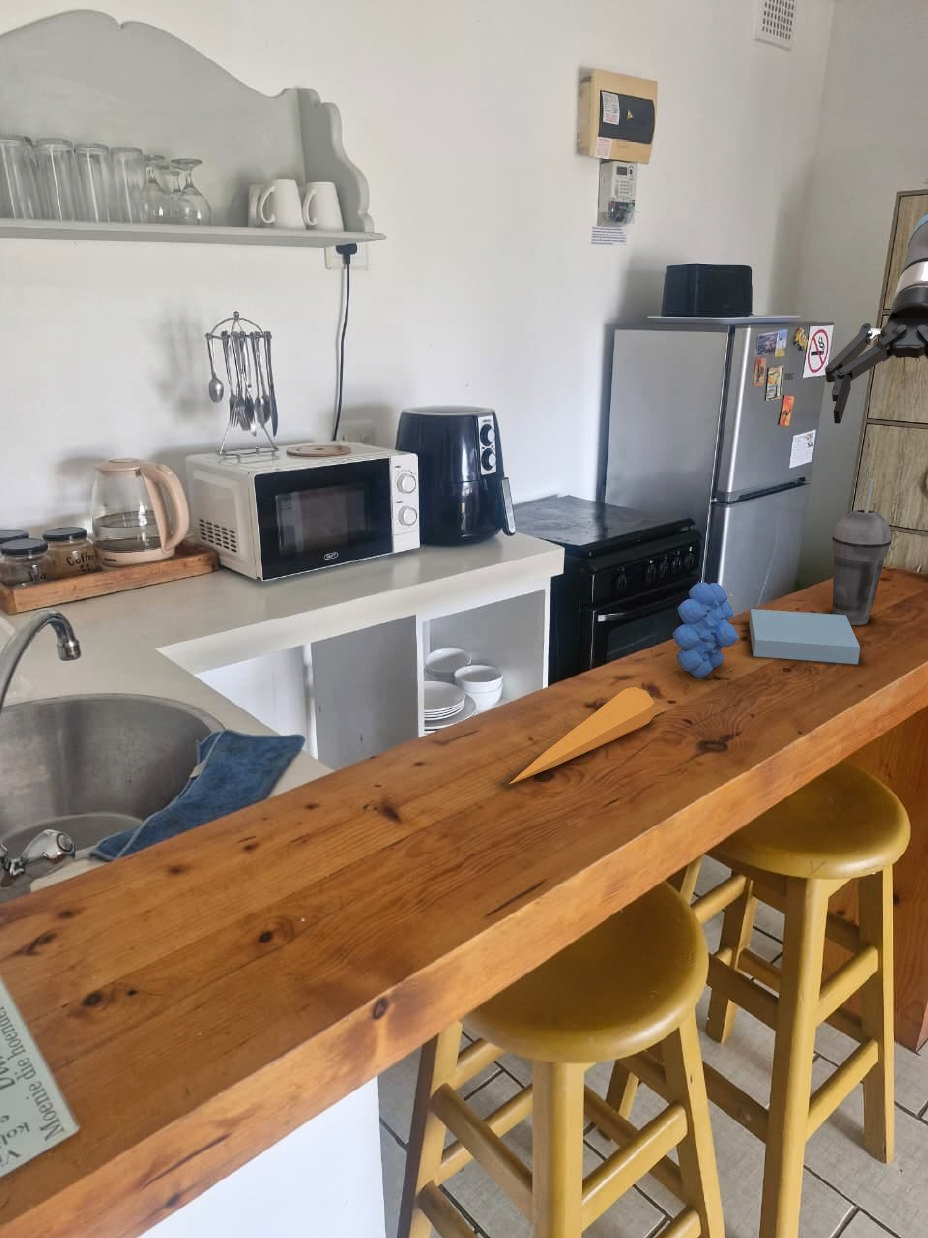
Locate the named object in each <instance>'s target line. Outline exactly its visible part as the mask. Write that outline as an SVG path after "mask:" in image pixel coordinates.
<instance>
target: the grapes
mask: <svg viewBox="0 0 928 1238" xmlns="http://www.w3.org/2000/svg"><path fill="white" fill-rule="evenodd" d="M688 595H689V597H690V598H687V599H686V600H683V601H682V602H681V603H680V605H679V606H677V609H676V610H677V612H678V615H679V617H680V619H681V620H682V622H683V623H684V624H681V625H680V626H678V627H677V628H676V629H675V630H674V631H673V632H672V638H673V641H674V643H675V645H676V646H677V647H678V648H679V649H680V650H679V651H678V652H677V654H676V655H675V657H676V661H677V663H678V665H679V666H680V668H681V669H682V670H684V671H686V672H689V673H690V675H691V676H693V677H695V678H696V679H703V678H705V677H707V676H708V675H710V673H711V672H712V671H713V670H714V669H716V668H718V667H719V666H720V665H721V664H723V662H724V661H725V657H724V654H723V652H722V649H723V648H724V649H725V648H726V649H727V648H730V647H732V646H734V645H735V644H737V643H736V642H738V641H739V640H740V637H739V634H738V631H737V629H736V628H735V626H734V625H733V624H731V623H730V622H729V621H730V620H731V619H732V618H733V617H734V615H735V614H734V611H733V608H732V606H731V604H730V603H729V601H727V600H728V595H727V593H726V591H725V589H724V588H723V586H722V585H721V584H719V583H718V582H711V583H709V584H708V582H698V583H696V584H695V585H693V586H692V587H691V588H690V590H689V591H688Z"/></svg>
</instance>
